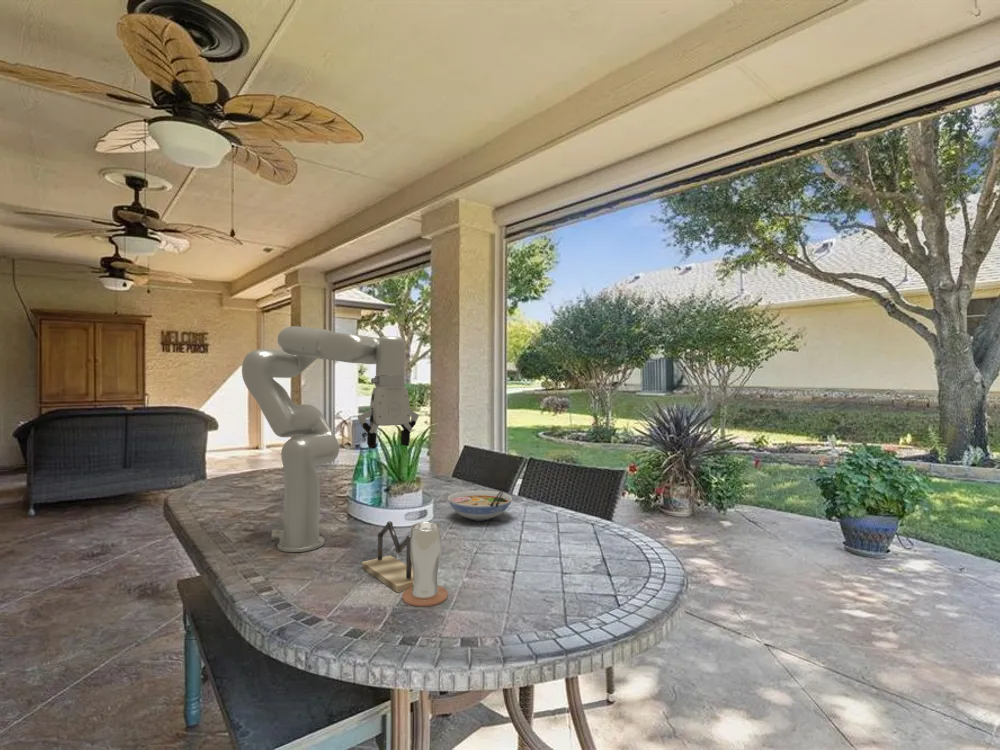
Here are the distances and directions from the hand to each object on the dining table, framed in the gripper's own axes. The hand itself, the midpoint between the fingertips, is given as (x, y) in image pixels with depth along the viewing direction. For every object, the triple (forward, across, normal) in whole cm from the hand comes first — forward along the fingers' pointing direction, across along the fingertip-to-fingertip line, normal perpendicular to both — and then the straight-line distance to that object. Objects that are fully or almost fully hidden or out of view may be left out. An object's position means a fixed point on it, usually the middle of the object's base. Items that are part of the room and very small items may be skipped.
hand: (388, 446), depth 133 cm
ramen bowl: (+31, +45, +18) cm, 57 cm away
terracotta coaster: (+30, -4, -26) cm, 40 cm away
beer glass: (+30, -4, -26) cm, 39 cm away
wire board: (+30, -4, -11) cm, 32 cm away
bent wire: (+29, -4, -11) cm, 31 cm away
